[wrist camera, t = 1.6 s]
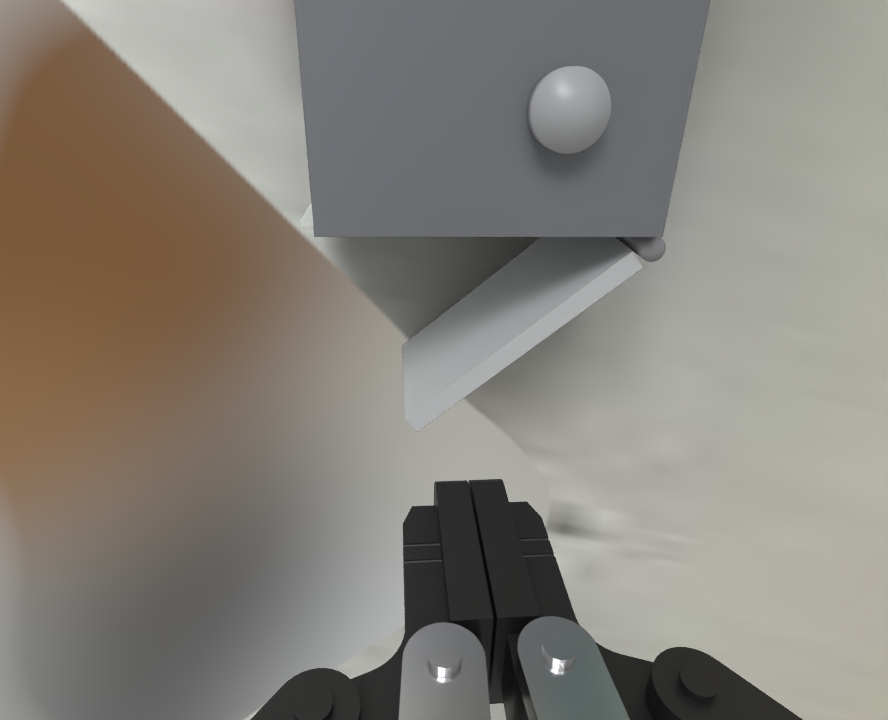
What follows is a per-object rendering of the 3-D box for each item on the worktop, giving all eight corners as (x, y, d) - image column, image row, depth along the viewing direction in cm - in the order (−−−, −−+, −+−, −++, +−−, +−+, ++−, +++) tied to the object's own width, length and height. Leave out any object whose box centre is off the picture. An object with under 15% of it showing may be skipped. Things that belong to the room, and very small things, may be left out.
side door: (401, 343, 29) (403, 420, 23) (593, 193, 26) (658, 232, 20) (419, 362, 30) (426, 441, 23) (609, 217, 27) (676, 262, 21)
